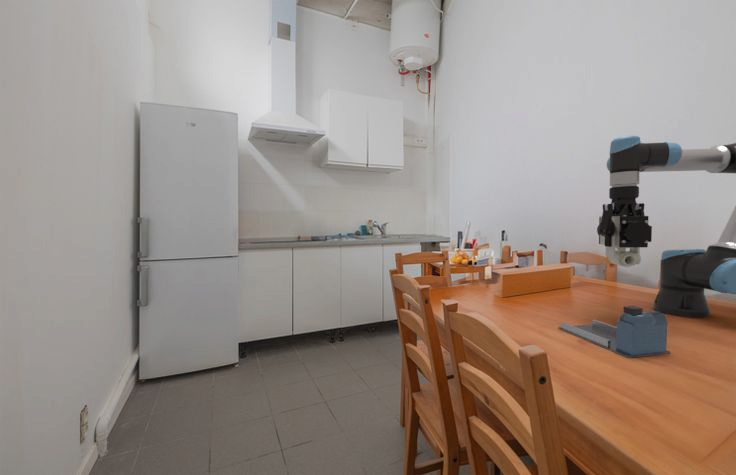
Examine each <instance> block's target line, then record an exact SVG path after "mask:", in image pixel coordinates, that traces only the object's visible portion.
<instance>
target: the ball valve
mask: <svg viewBox="0 0 736 475" xmlns="http://www.w3.org/2000/svg"><path fill="white" fill-rule="evenodd" d="M601 219H602V216H599V219H598V225H597V227H596V232H597V234H598V244H599V245H603V246H605V236H602V235H600V234H599V229H600V224H601ZM612 221H613V222H614V224H615V229H614V235H613V236H612V237H615V243H614V246H615V257H607V259H608V261H609V262H610V264H613V265H616V266H621V267H625V268H630V267H633V266H636V265H640V263H641V261H642V260H641V259H642V257H641V255H640V254H641V253H640V254H639V253H634V252H633V251H630V249H633V247H640V248H648V247H649V245H648V243H650V242H651V243H652V230H653V226H652V225H650V224H649V215H645V216H627V215H623V216H612ZM626 249H629V251H628V250H627V251H626Z"/></svg>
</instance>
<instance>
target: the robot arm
mask: <svg viewBox="0 0 736 475" xmlns="http://www.w3.org/2000/svg"><path fill="white" fill-rule="evenodd" d="M606 168H607V170H608V171H609V186H610V188H609V190H608V191H609V193H608V194H609V196H608V198H609V199H610V200H611V202H610V203H603V204H602V215H601V217H602V219H601V224H600V229H599V234H600V235H602V236H605V245H604V247H605V257H606V258H608V257H615V250H616V248H615V246H614V243H615V237H612V236H613V235H614V229H615V224H614V222H613V221H612V216H623V215H627V216H646V214H645V203H643V202H638V203H637V200H636V199H637V198H639V195H640V187H639V184H640V173H645V172H646V173H650V172H654V173H655V172H656V173H657V172H691V171H692V172H694V171H695V172H696V171H697V172H698V171H706V172H707V173H709V174H736V142H733V143H729V144H722V145H721V144H720V145H719V144H718V145H714V146H711V147H709V148H689V149H688V148H687V149H685V148H684V149H682V146H681V145H680V144H678V143H677V142H667V141H664V142H649V143H647V142H645V143H644V142H641V138H640V136H639V135H625V136H620V137H617V138H613V139H612V141H611V142H610V148H609V157H608V159H607V162H606ZM629 251H633V252H634V253H639V254H641V247H633V249H630V248H629ZM659 281H660V284H659V285H660V288H659V291H658V293H657V295H656V297H655V299H654V301H653V307H652V308H653V309H654V310H655V311H659V312H661V313H663V314H668V315H672V316H679V317H684V318H685V317H686V318H699V319H700V318H701V319H702V318H710V316H711V308H710V305H709V302H708V301H707V298H706V295H705V290H710V291H714V292H718V293H722V294H730V295H736V205H735V207H734V208H733V211H732V213H731V215H730V217H729V218H728V220H727V223H726V225H725V226H724V229H723V230H722V233H721V234H720V237H719V238H718V241H717V242H716V243H713V244H710V245H708V246H707V248H706V250H705V249H703V248H702V249H700V248H699V249H698V248H696V249H694V248H693V249H689V248H688V249H666V250H664V251H662V252H661V259H660V280H659Z"/></svg>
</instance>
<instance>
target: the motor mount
mask: <svg viewBox="0 0 736 475" xmlns="http://www.w3.org/2000/svg"><path fill="white" fill-rule="evenodd" d="M667 319H668V318H667V316H666V315H665V313H663V312H659V311H657V310H655V311H652V310H651V311H643V308H642V307H638V306H635V305H630V306H623V314H621V315H620V317H619V319H617V320H616V326H615V325H611V324H609V323H606V322H603V321H600V320H598V319H592V323H589V324H581V325H580V324H579V325H576V324H575V325H571V324H568V323H567V322H564V321H562V322H561V326H558V328H557V329H559V330H561V331H563V332H566V333H567V334H570V335H572V336H575V337H578V338H579V339H582V340H585V341H587V342H590V343H592V344H594V345H597V346H598V347H601V348H604V349H606V350H609V351H611V352H613V353H615V354H618V355H620V356H623V357H625V358H627V359H631V358H632V359H633V358H642V357H650V356H658V355H666V354H667V355H669V354H671V351H669V350H667V345H668V344H667V340H668V320H667Z"/></svg>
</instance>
